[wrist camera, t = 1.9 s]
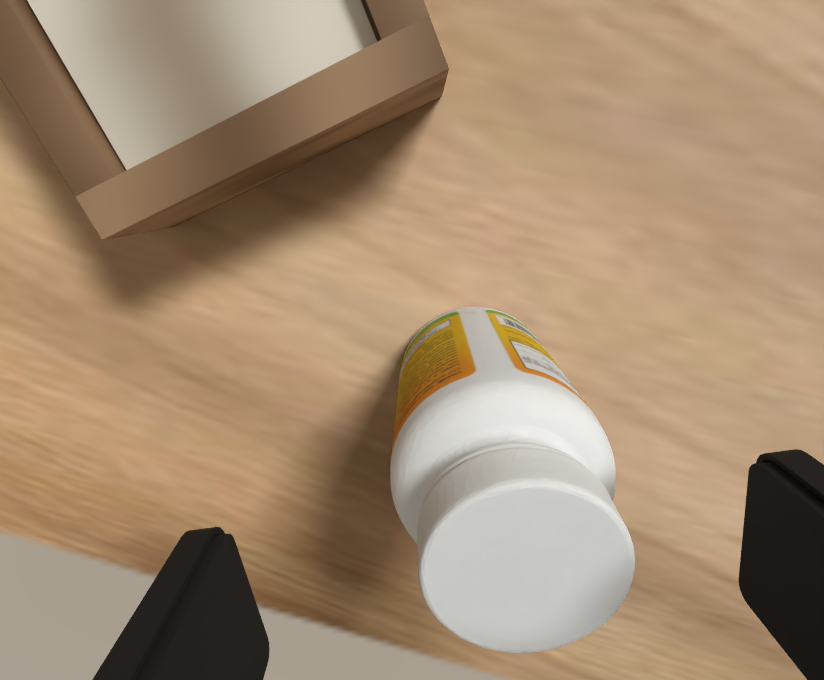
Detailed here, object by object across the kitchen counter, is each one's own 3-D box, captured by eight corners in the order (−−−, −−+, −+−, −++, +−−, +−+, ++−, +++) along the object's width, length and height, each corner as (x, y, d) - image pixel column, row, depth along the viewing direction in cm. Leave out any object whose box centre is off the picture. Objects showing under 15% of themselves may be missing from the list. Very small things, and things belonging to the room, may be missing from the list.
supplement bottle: (404, 439, 19) (389, 687, 10) (395, 307, 17) (366, 453, 8) (541, 434, 19) (661, 680, 9) (546, 299, 17) (697, 439, 8)
